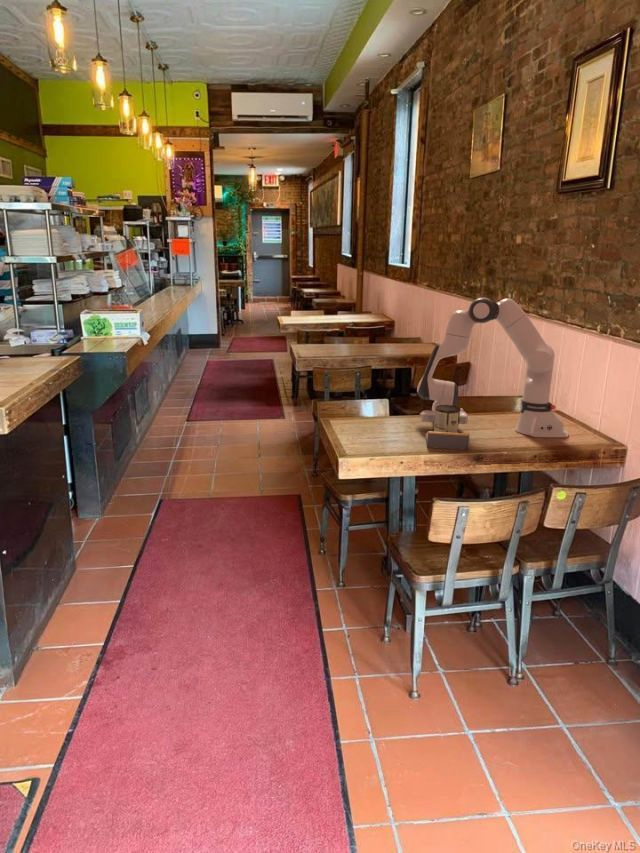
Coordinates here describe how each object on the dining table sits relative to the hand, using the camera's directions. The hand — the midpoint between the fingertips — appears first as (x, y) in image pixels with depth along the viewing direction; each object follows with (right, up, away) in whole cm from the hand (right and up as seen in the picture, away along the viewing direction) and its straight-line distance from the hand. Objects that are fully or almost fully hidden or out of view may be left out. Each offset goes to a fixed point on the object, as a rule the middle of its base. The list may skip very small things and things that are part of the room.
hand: (445, 421), depth 268 cm
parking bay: (-1, -9, -9) cm, 13 cm away
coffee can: (-1, -8, -3) cm, 8 cm away
